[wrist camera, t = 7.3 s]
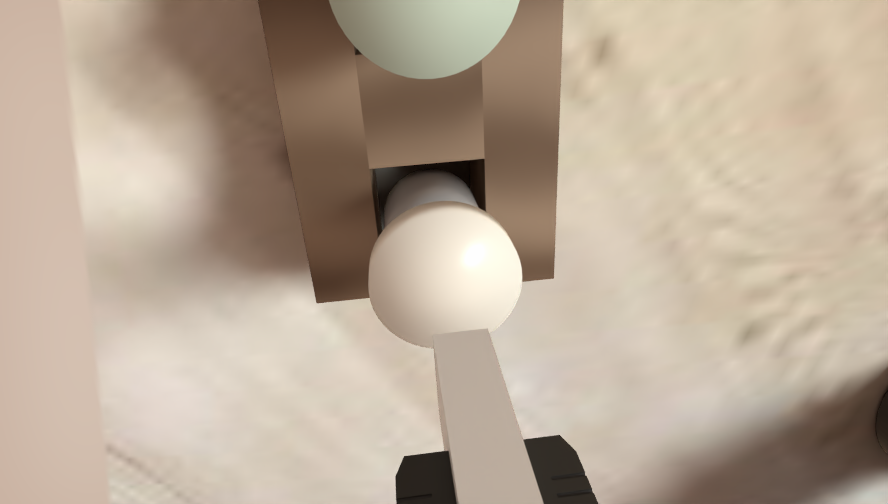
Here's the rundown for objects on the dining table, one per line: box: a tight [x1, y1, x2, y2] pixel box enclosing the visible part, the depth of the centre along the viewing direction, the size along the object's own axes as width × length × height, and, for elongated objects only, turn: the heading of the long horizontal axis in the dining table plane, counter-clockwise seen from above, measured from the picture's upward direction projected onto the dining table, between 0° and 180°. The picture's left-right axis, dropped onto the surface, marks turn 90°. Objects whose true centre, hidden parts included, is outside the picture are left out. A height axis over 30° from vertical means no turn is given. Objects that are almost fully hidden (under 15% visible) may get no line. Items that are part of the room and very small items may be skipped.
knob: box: [368, 169, 522, 348], centre depth 23 cm, size 6×6×7 cm
